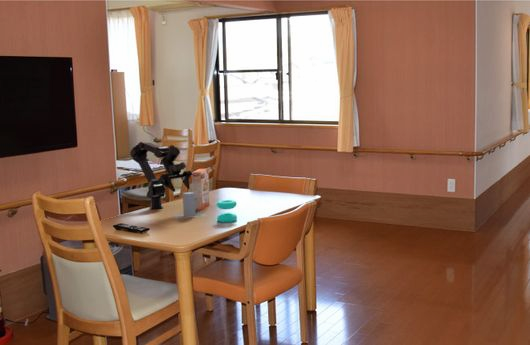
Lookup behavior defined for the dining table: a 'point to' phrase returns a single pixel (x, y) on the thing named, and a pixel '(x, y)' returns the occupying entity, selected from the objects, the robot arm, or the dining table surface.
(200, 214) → the board
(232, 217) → the donuts
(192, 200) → the grey-blue tall block
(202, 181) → the cracker box
